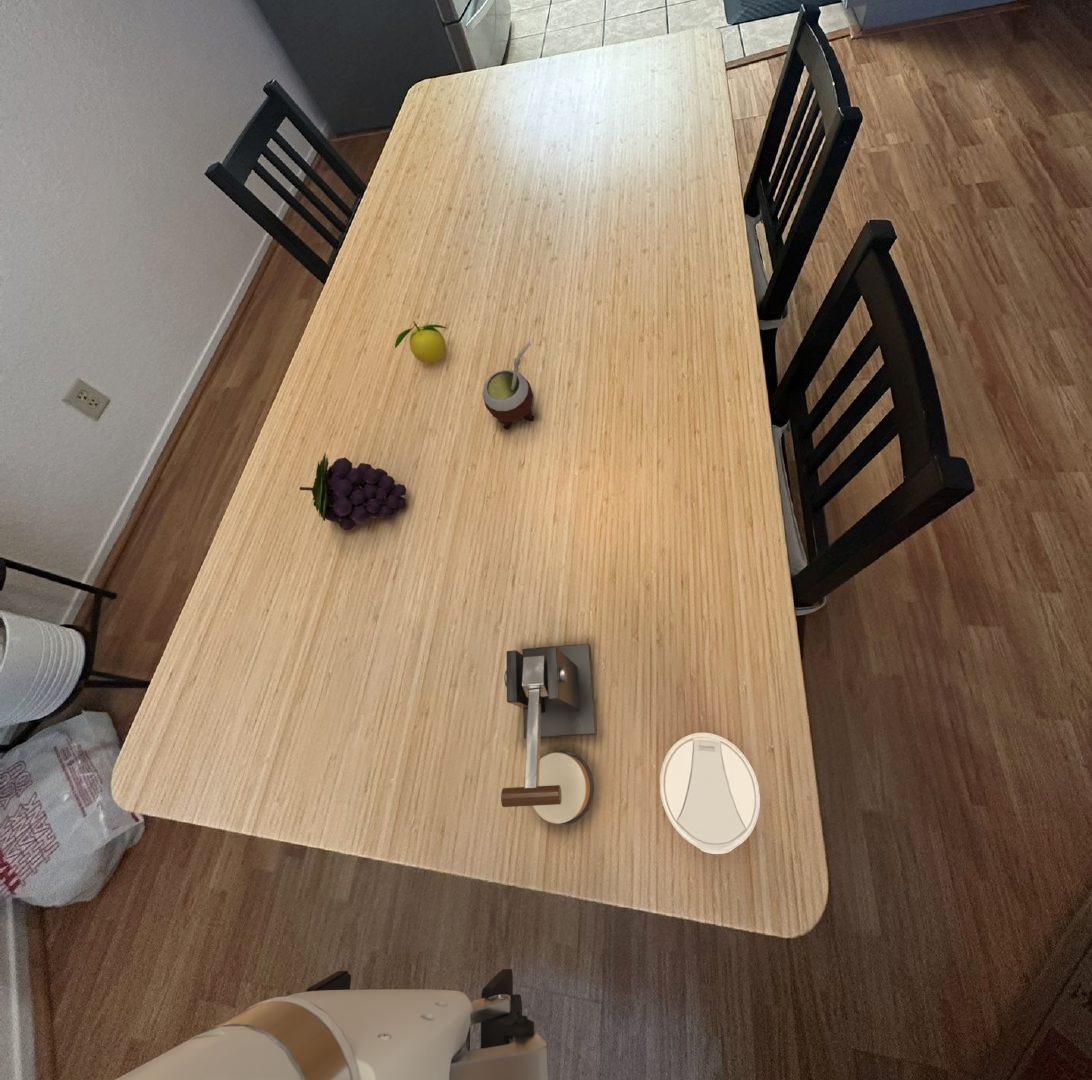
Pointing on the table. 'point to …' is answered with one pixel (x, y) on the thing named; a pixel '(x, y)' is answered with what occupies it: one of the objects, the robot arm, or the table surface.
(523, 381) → the mate gourd
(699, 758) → the coffee cup
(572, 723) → the lever base stand
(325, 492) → the fruit
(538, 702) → the lever
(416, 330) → the lemon
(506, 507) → the table surface
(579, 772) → the cake
